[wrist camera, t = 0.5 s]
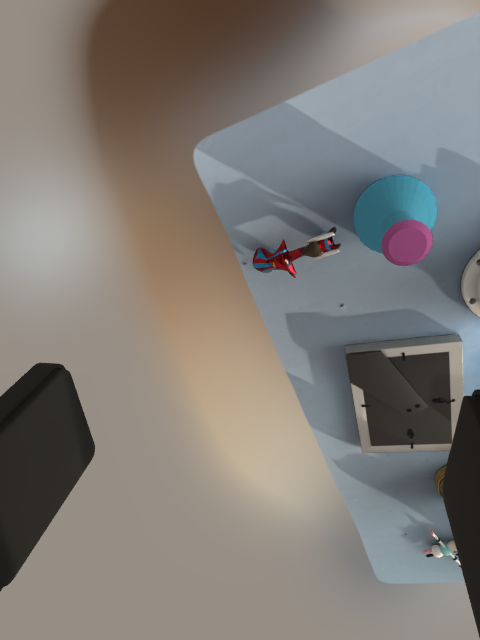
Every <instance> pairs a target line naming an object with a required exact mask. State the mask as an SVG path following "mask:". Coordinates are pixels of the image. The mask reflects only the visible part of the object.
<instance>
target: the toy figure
mask: <svg viewBox="0 0 480 640" xmlns="http://www.w3.org/2000/svg"><path fill="white" fill-rule="evenodd" d="M430 534H431V535H433V536H434V537H435V539H436V541H437V542H439V543H440V546H439V545H433V546H432V547H431V549H428V550H424V551H423V553H427V552H432V554H428V555H426V556H427V557H431V556H435V557H441V556H442V555H451V556H452V557H453V560H455V561H456V562H457V563H458V564H459V566H460V567H461V564H460V562H459V561H458V560H457V557H456V556H454V555H453V554H452V553H454V554H456V555H458V553H457V549H456V545H455V541H450V542H449V543H448V544H447V543H442V542H441V541H440V538H438V537H437V536H436V535H435V534H434V532H433V531H430Z"/></svg>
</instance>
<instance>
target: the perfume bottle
mask: <svg viewBox="0 0 480 640" xmlns="http://www.w3.org/2000/svg"><path fill="white" fill-rule="evenodd" d="M436 216H437V203H436V199H435V196H434V195H433V193H432V191H431V190H430V188H429V187H428V186H427V185H426V184H425V183H423V182H422V181H420V180H418V179H416V178H413V177H411V176H406V175H392V176H388V177H384V178H382V179H380V180H378V181H376V182H374V183H373V184H371V185H370V186H369V187H368V188H367V189H366V190H365V191H364V192H363V194H362V195H361V196H360V198H359V200H358V202H357V204H356V208H355V211H354V228H355V231H356V233H357V235H358V237H359V239H360V240H361V241H362V242H363V243H364V244H365V245H366V246H367V247H368V248H370V249H371V250H374V251H376V252H379V253H383V254H384V256H385V258H386V259H387V260H388V261H390V262H391V263H393V264H396V265H400V266H408V265H412V264H415V263H417V262H419V261H421V260H422V259H423V258H425V256H426V255H427V254H428V253H429V251H430V249H431V247H432V242H433V239H432V234H431V230H432V228H433V226H434V224H435V221H436Z"/></svg>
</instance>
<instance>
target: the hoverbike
mask: <svg viewBox="0 0 480 640" xmlns="http://www.w3.org/2000/svg"><path fill="white" fill-rule="evenodd" d="M335 233H336V228H335V227H333V228H332V229H331V230H329V231H328V232H323V233H321V234H320V235H319V236H317V237H314V238H312V239H309V240H308V241H307V243H309V244H308V245H307V246H304V247H301V248H298V249H295V250H293V251H290V252H289V251H288V250H287V247H286V244H285V241H284V239H283V241H282V243H281V245H280V246H279V248H278V250H277V251H275V250H266V249H264V248H258V249H257V250H256V251H255V254H254V257H253V266H254V268H255V269H256V270H258V271H260V272H262V273H269V272H271V271H272V270H285V271H288V272H289V273H290V274H291V275H292V276H293V277H294V278H296V276H295V275H294V274H296V271H295V269H294V267H293V264H292V261H294V260H295V259H297V258H299V257H301V256H310V257H313V258H312V259H319V258H323V257H327V256H330V255H333V254H336V253H338V252H340V250H339V248H340V246H341V244H336V245H335V244H334V237H333V236H334V235H335ZM321 252H324V253H321ZM292 273H293V274H292Z"/></svg>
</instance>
